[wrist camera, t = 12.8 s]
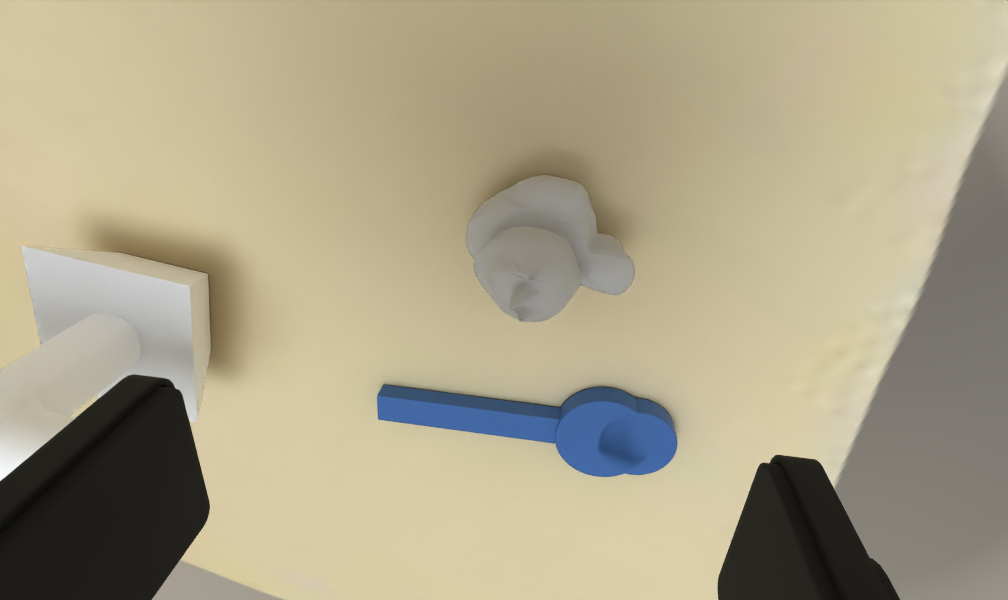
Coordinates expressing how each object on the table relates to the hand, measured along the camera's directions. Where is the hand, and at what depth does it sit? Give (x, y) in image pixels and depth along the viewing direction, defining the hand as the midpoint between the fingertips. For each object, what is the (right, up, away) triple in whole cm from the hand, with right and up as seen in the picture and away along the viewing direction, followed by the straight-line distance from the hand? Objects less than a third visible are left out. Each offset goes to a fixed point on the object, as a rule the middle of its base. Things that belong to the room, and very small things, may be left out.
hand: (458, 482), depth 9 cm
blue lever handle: (+2, -3, +20) cm, 20 cm away
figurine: (-16, +3, +19) cm, 25 cm away
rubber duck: (+3, +6, +15) cm, 17 cm away
